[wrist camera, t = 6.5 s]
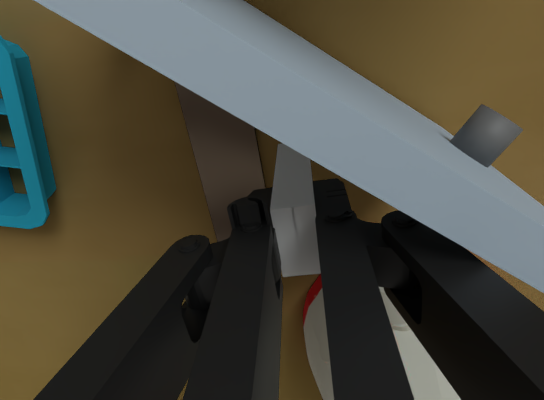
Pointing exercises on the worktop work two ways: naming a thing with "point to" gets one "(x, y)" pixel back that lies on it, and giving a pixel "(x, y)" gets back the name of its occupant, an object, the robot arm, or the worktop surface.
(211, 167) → the door frame
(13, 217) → the ice cube tray
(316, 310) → the kitchen timer
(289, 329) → the worktop surface
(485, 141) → the door
